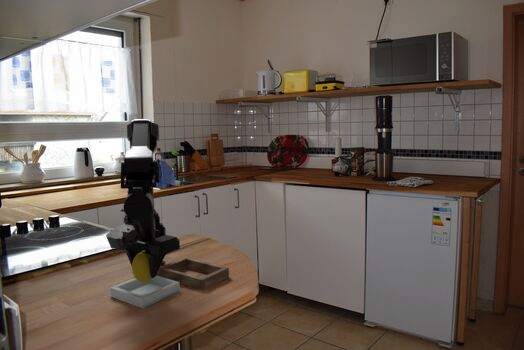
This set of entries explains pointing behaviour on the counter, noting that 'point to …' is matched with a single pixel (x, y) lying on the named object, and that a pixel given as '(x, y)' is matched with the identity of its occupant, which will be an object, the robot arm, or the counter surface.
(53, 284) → the counter surface
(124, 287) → the dish
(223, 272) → the holder frame
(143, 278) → the lemon
